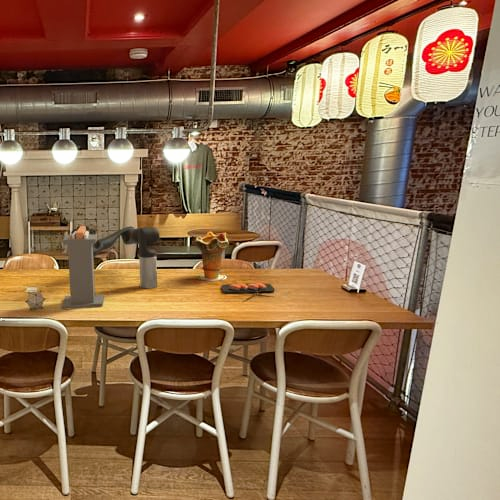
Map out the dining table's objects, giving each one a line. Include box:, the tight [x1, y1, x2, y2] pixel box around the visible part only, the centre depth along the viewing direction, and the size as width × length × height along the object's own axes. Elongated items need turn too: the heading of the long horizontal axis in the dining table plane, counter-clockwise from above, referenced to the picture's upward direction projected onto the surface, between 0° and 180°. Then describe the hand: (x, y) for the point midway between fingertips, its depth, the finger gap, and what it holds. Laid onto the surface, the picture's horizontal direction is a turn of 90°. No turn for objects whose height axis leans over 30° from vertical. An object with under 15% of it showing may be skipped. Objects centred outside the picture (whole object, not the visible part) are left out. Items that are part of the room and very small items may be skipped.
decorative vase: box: [195, 231, 230, 282], centre depth 252 cm, size 21×23×28 cm
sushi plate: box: [220, 282, 275, 303], centre depth 223 cm, size 29×30×4 cm
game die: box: [24, 290, 47, 311], centre depth 190 cm, size 9×8×10 cm
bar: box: [76, 225, 87, 239], centre depth 201 cm, size 22×3×3 cm, turn 17°
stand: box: [60, 231, 105, 310], centre depth 198 cm, size 18×17×34 cm
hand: (82, 227), depth 207 cm, fingers closed on bar, 3 cm apart
